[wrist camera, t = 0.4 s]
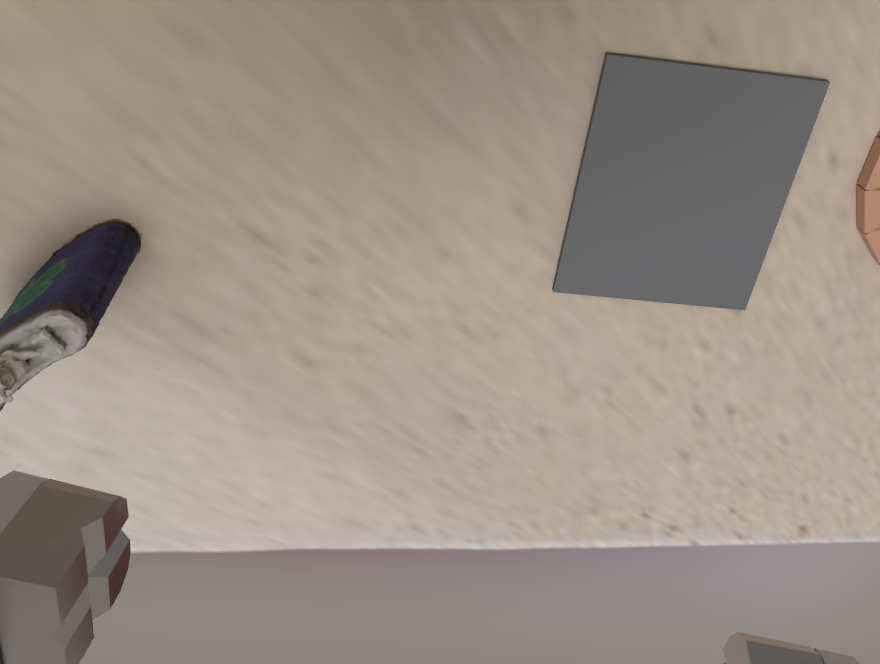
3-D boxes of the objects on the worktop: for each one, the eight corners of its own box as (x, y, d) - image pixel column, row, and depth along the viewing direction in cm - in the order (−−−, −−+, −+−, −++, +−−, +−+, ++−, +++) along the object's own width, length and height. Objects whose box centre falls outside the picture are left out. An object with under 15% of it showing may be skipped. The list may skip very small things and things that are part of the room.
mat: (605, 52, 43) (607, 54, 43) (826, 80, 44) (829, 81, 44) (552, 288, 50) (553, 291, 50) (742, 306, 52) (744, 310, 51)
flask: (42, 335, 51) (-44, 460, 41) (-2, 300, 50) (-101, 421, 40) (154, 243, 48) (91, 355, 38) (111, 203, 47) (34, 308, 37)
